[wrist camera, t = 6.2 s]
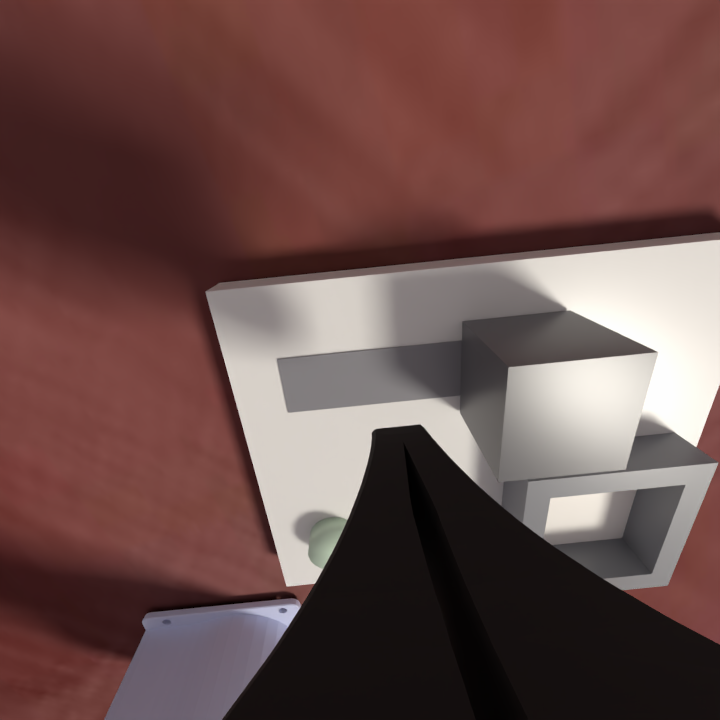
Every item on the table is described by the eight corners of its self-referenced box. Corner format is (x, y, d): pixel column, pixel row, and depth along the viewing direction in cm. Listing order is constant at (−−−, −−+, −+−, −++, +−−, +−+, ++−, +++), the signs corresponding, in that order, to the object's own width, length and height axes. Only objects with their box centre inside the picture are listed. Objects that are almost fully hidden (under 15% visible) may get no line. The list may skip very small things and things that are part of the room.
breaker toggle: (459, 412, 15) (498, 482, 11) (462, 321, 13) (508, 367, 9) (555, 403, 15) (625, 469, 11) (569, 310, 13) (658, 352, 9)
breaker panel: (290, 560, 20) (280, 627, 17) (219, 282, 14) (181, 307, 10) (636, 525, 20) (691, 586, 17) (732, 230, 14) (851, 239, 10)
